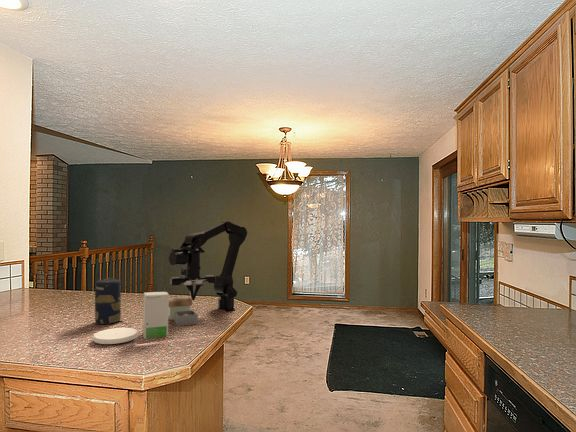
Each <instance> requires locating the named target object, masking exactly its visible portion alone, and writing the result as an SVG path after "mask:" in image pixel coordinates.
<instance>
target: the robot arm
mask: <svg viewBox="0 0 576 432" xmlns="http://www.w3.org/2000/svg"><path fill="white" fill-rule="evenodd" d="M224 232H225V233H226V234H228V242H229V245H228V249H227V251H226V256H225V259H224V263H223V267H222V270H221V273H220V274H219V275H213V274H206V275H204V276H203V277H201V268H202V267H201V254H203V253H204V254H205V253H206V251H205V249H203V248H202V247H203V246H204V245H205V244H206V243H207V242H208V241H209V240H211V239H213V238H214V237H216V236H218V235H220V234H222V233H224ZM247 235H248V230H247V228H246V227H245V226H240V225H238V224H235V223H233V222H231V221H229V220H222V221H220V222H219V223H217V224H214V225H213V226H211V227H208V228H207V229H204V230H202V231H198V232H194V233H190V234H187V235H185V237H184V241H183V242H182V244H181V246H180V247H179V248H172V249H171V252H170V254H169V256H168V262H169V265H170V266H172V267H173V266H181V265H182V266H183V265H186V266H185V267H186V268H185V267H183V268H179V276H171V277H170V279H169V284H170V285H171V286H181V284H183V286H185V287H186V288H187V289H188V293H189V295H190V299H191V300H192V301H195V298H196V297H197V294H198V292H199V291H200V288H201V286H204V284H203V283H204V282H207V283H208V284H213V289H214V291H215V294H216V296H217V297H218V299H217V309H218V310H224V311H225V312H228V311H230V312H231V311H235V310H236V309H235V298H236V297H237V295H238V291H237V290H236V289H235V288H234V279H233V273H234V270H235V266H236V264H237V263H236V262H237V258H238V255H239V250H240V247H241V246H242V244H244V242H245V241H246V238H247ZM183 277H184V278H183Z"/></svg>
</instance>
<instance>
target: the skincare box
mask: <svg viewBox="0 0 576 432" xmlns="http://www.w3.org/2000/svg"><path fill="white" fill-rule="evenodd" d="M169 298H170V294H169V293H168V292H167V291H151V292H149V291H148V292H143V305H142V307H143V309H142V310H143V311H142V312H143V313H142V318H143V319H142V336H143V339H145V340H146V339H152V338H160V337H169V318H168V311H169Z"/></svg>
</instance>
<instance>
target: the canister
mask: <svg viewBox="0 0 576 432" xmlns="http://www.w3.org/2000/svg"><path fill="white" fill-rule="evenodd" d="M121 283H122V282H121V280H119V279H117V278H111V277H107V278H105V279H99V280H97V281H96V282H95V283H94V284H95V285H94V298H95V299H94V320H95V323H97V324H101V325H102V324H103V325H104V324H105V325H107V324H113V323H117V322H120V320H121V315H122V312H121V308H122V298H121V296H122V295H121V294H122V291H121V290H122V289H121V287H122V286H121Z"/></svg>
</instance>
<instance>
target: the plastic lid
mask: <svg viewBox="0 0 576 432" xmlns="http://www.w3.org/2000/svg"><path fill="white" fill-rule="evenodd" d="M137 337H138V330H137V329H135V328H132V327H130V328H129V327H115V328H109V329H108V328H107V329H104V330H100V331H98V332H95V333H94V334H93V342H94V343H96V344H101V345H102V344H103V345H112V344H113V345H115V344H121V343H122V344H123V343H127V342H131V341H133V340H135V339H136V338H137Z"/></svg>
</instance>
